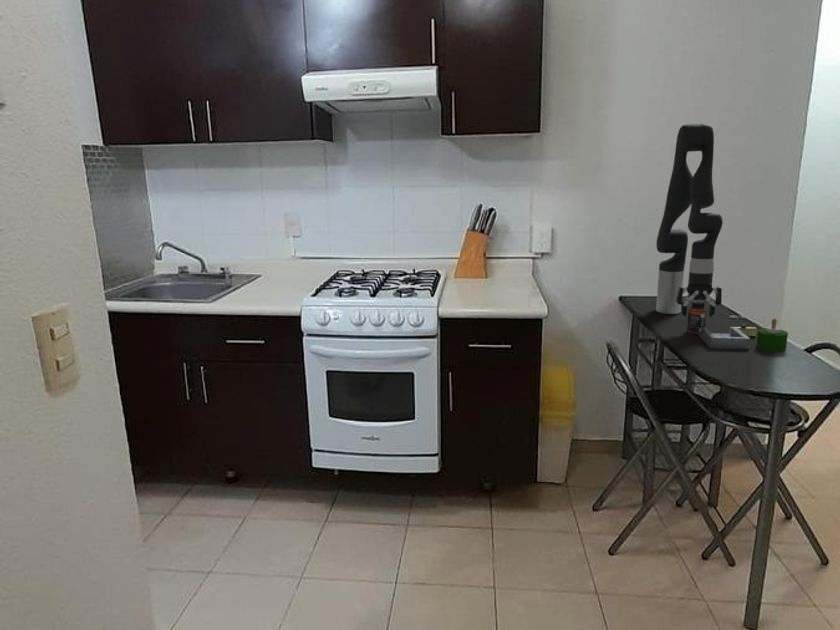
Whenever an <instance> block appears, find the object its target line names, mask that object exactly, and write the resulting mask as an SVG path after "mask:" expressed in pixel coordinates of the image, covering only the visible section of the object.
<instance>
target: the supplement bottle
mask: <svg viewBox="0 0 840 630" xmlns="http://www.w3.org/2000/svg"><path fill="white" fill-rule="evenodd" d="M707 314H708V310H707V308H706V307H705V302H704V301H703V300H701V301H700V300H692V301H691V306H690V307H688V309H687V320H686V321H687V322H686V332H687V333H688V334H691V335H699V333H701V327H707V326H706V325H707V324H706V323H707Z"/></svg>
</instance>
